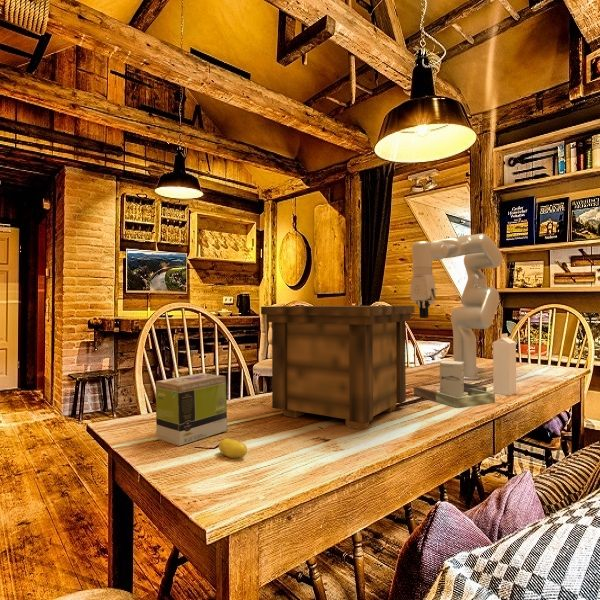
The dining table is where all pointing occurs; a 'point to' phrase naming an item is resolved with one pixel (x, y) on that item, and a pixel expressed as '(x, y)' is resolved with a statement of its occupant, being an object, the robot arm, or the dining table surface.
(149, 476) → the dining table surface
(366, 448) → the dining table surface
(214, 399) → the tea box
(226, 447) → the lemon
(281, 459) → the dining table surface
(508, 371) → the milk
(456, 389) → the supplement box
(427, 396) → the grey-green angular frame
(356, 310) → the crate
